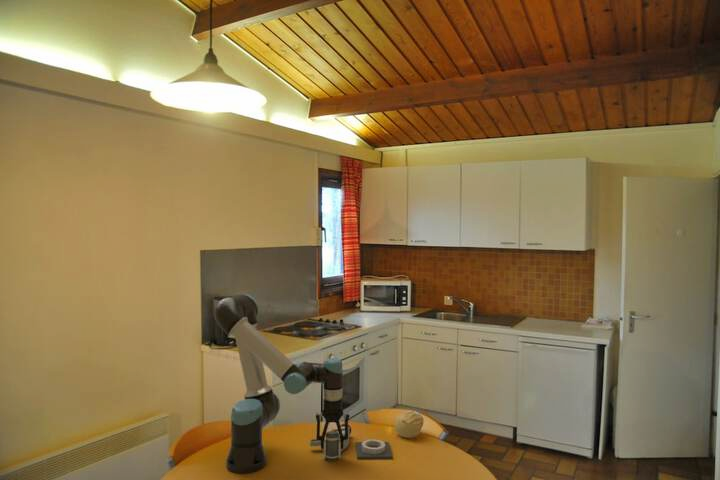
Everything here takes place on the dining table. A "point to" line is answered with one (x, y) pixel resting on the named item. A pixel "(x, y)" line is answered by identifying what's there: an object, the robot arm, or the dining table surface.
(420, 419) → the cream crumpled ball
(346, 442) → the film camera
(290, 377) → the robot arm
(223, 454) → the dining table surface
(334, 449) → the lens
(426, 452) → the dining table surface
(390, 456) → the mount
